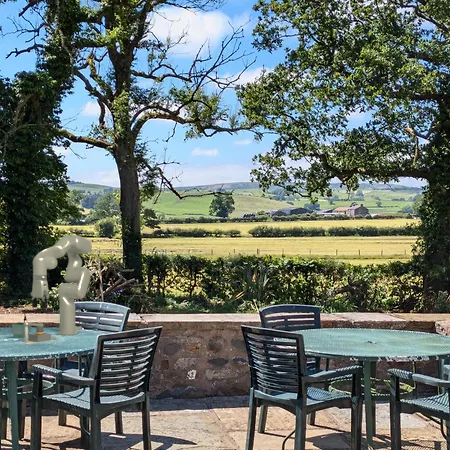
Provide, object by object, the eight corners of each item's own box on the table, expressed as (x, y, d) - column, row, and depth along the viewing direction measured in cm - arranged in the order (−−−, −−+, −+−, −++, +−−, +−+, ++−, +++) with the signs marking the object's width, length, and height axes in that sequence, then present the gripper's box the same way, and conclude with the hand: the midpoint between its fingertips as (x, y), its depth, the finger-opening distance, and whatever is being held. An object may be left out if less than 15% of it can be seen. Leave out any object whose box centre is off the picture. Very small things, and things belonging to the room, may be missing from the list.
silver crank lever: (22, 325, 398) (22, 321, 398) (26, 324, 401) (26, 321, 401) (40, 326, 393) (40, 323, 393) (44, 326, 396) (44, 322, 396)
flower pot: (24, 339, 413) (24, 324, 413) (11, 339, 415) (11, 324, 415) (31, 337, 422) (31, 322, 422) (18, 337, 424) (18, 322, 424)
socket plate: (43, 339, 414) (43, 322, 414) (53, 341, 407) (53, 323, 407) (18, 343, 401) (18, 325, 401) (28, 345, 394) (28, 326, 394)
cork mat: (55, 338, 416) (55, 337, 416) (61, 339, 412) (61, 338, 412) (48, 339, 412) (48, 338, 412) (54, 340, 409) (54, 339, 409)
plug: (40, 339, 409) (41, 324, 409) (45, 340, 406) (45, 325, 406) (34, 340, 406) (34, 325, 406) (38, 341, 403) (38, 325, 403)
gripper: (54, 278, 403) (54, 308, 403) (36, 277, 415) (36, 306, 414) (43, 279, 398) (42, 309, 397) (25, 278, 409) (25, 307, 409)
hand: (39, 307), depth 406 cm, fingers open, 9 cm apart
